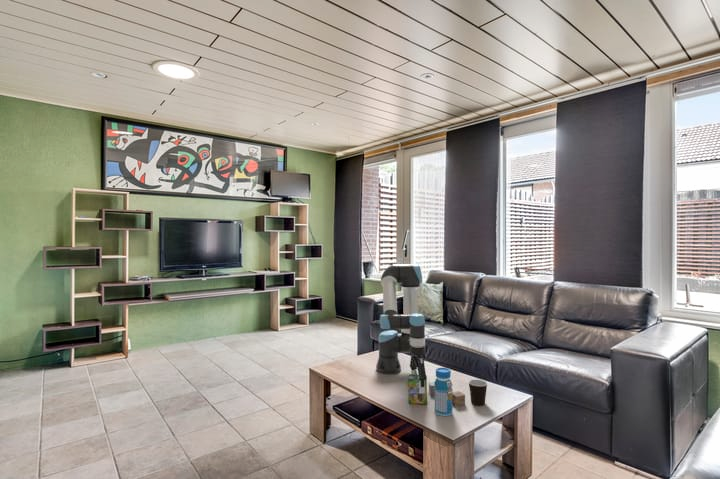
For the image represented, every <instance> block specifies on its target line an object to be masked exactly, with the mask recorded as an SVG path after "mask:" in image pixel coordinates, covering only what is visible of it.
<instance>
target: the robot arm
mask: <svg viewBox="0 0 720 479" xmlns="http://www.w3.org/2000/svg"><path fill="white" fill-rule="evenodd" d="M398 284H400V288H401V289H402V292H403V293H402V296H403V297H402V298H403V299H402V300H403V301H402V302H403V303H402V304H403V311H402V312H403V314H399V313H398V303H397V302H398V300H397V285H398ZM421 284H423V275H422V269H421V266H420V265H419V264H415V263H411V264H410V263H406V264H405V263H403V264H397V263H396V264H392V265H389V266H388V267H387V268H386V269H385V270H384V271H383V272H382V274H381V276H380V285H381V286H382V300H383V301H382V302H383V303H382V306H383V309H382V310H383V314H380V316H379V317H380V318H379V320H380V322H379V323H380V329H382V330H384V331H382V332H380V333H379V335H378V359H377V362H376V366H375V369H376V372H378V373H381V374H387V375H392V374H397V373H399V372H401V371H402V370H401V369H402V367H401V362H400V360H399V354H410V356H411V357H410V361H409V368H410V374H411V375H419V378H420V379H418V381H419V394H423V393H425V380H426V376H427V374H426V368H425V359H424V358H423V357H422V356H423V355H425V353H426V335H425V334H426V332H425V331H426V330H425V328H426V326H425V324H426V321H425V315H424V314H422V313H418V311H419V310H418V306H419V305H418V289H419V288H420V287H421ZM397 330H401V331H400V332H399V333H398V331H397ZM415 370H416V372H417V374H415ZM422 377H423V378H422Z"/></svg>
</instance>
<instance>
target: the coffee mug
mask: <svg viewBox="0 0 720 479" xmlns="http://www.w3.org/2000/svg"><path fill="white" fill-rule="evenodd" d="M468 387H469V395H470V401H471V402H470V403H471V404H472V405H474V406H477V407H483V406H485V404H486V396H487V390H488V389H487V388H488V383H487V382H486V381H485V380H482V379H471V380H469V381H468Z"/></svg>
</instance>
